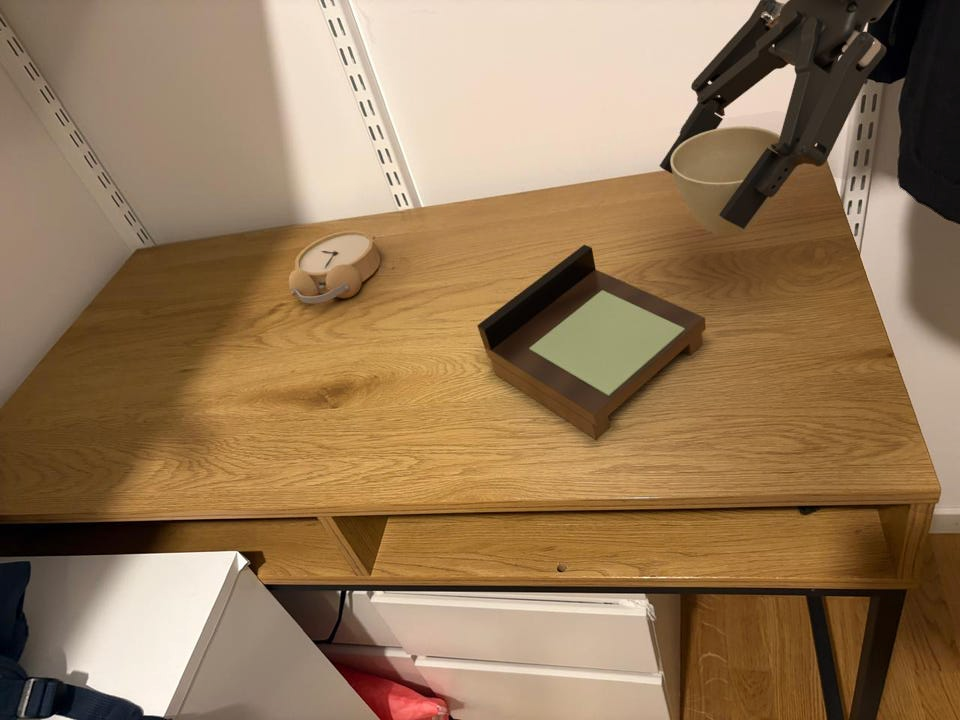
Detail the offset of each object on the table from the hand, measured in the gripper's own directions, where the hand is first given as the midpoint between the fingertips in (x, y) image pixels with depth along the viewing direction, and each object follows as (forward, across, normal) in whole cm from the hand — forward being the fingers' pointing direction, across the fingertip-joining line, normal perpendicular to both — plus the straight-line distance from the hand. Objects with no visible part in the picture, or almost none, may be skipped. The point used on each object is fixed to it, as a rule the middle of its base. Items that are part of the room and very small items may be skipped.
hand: (699, 195), depth 68 cm
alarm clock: (+36, +35, +14) cm, 52 cm away
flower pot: (+1, 0, -5) cm, 5 cm away
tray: (+20, +1, -2) cm, 20 cm away
